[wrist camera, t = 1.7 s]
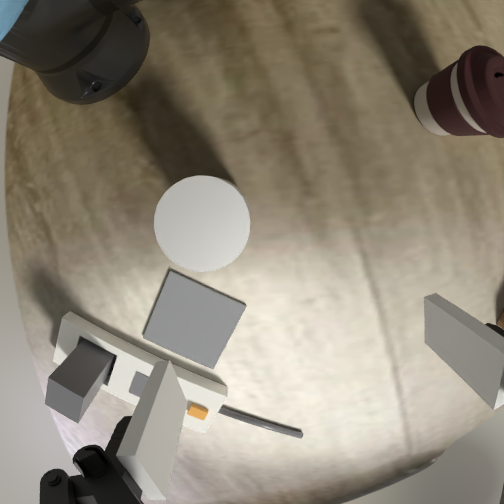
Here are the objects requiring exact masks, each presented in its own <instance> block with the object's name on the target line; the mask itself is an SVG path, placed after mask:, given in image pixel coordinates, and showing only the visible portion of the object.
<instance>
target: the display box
mask: <svg viewBox="0 0 504 504" xmlns="http://www.w3.org/2000/svg"><path fill="white" fill-rule="evenodd" d="M497 325H498V326H500V327H501V328H503V329H504V310H503V312H502V314H501V316H500V318H499V320H498V322H497Z"/></svg>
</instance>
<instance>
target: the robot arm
mask: <svg viewBox="0 0 504 504" xmlns="http://www.w3.org/2000/svg"><path fill="white" fill-rule="evenodd" d="M139 1H142V0H0V56H2V57H5V58H7V59H9V60H12V61H14V62H16V63H19V64H21V65H23V66H25V67H28V68H30V69H32V70H34V71H36V73H37V74H38V76H39V77H40V79H41V81H42V82H43V84H44V85H45V87H46V88H47V90H48V91H49V92H50V93H51V94H53V95H54V96H55V97H57V98H59V99H61V100H64V101H66V102H68V103H72V104H80V105H83V104H91V103H95V102H98V101H101V100H103V99H105V98H107V97H109V96H111V95H113V94H114V93H116V92H117V91H119V90H120V89H121V88H122V87H124V86H125V85H126V84H127V83H128V82H129V81H130V80H131V79H132V78H133V77H134V75H135V74H136V73H137V71H138V70H139V68H140V67H141V65H142V63H143V61H144V59H145V57H146V54H147V51H148V47H149V41H150V33H149V28H148V25H147V22H146V20H145V19H144V17H143V15H142V14H141V12H140V11H139V10H138V9H137V8H136V7H135V6H134V5H133V4H134V3H137V2H139ZM424 312H425V343H426V344H427V345H428V346H429V347H430V348H431V349H432V350H433V351H434V352H435V353H436V354H437V355H438V356H439V357H440V358H441V359H442V360H443V361H445V362H446V363H447V364H448V365H449V366H450V367H451V368H452V369H453V370H454V371H455V372H456V373H457V374H458V375H459V376H460V377H461V378H462V379H463V380H464V381H465V382H466V383H467V384H468V385H469V386H470V387H471V388H472V389H473V390H474V391H475V392H476V393H477V394H478V395H479V396H480V397H481V398H482V399H483V400H484V401H485V402H486V403H487V404H488V405H489V406H490V407H491V408H492V409H493V410H495V409H497V408H498V407H500V406H502V405H503V404H504V330H503V329H502V328H500V327H499V326H497V325H493V324H490V323H487V324H483V323H482V322H480V321H479V320H477V319H476V318H474V317H473V316H471V315H469V314H468V313H466V312H465V311H463V310H462V309H460V308H459V307H457V306H456V305H454V304H452V303H451V302H449V301H448V300H446V299H445V298H443V297H441V296H440V295H438V294H437V293H435V294H432V295H429V296H426V297H424ZM186 406H187V400H186V398H185V396H184V393H183V391H182V389H181V386H180V384H179V381H178V379H177V376H176V374H175V371H174V369H173V366H172V364H171V361H170V360H166V361H159V362H156V363H155V365H154V367H153V370H152V372H151V374H150V376H149V379H148V381H147V383H146V385H145V388H144V390H143V392H142V395H141V397H140V399H139V402H138V404H137V406H136V409H135V411H134V413H133V416H124V417H123V418H122V419H121V421H120V422H119V423H118V424H117V425H116V428H115V430H114V433H113V434H112V436H111V440H110V441H109V443H108V445H107V447H106V449H105V451H104V450H103V449H102V448H101V447H100V446H98V445H88V446H85V447H83V448H81V449H79V450H78V451H77V452H76V453H75V454H74V457H73V464H74V465H75V467H76V468H77V469H78V471H79V472H80V473H81V475H76V476H71V477H69V476H68V475H67V473H66V472H65V471H64V470H61V469H53V470H50V471H48V472H47V473H45V474H44V475H43V477H42V478H41V481H40V504H144V503H143V502H142V501H141V500H140V499H141V495H142V492H143V493H144V494H145V496H146V497H147V498H148V499H149V500H167V496H168V491H169V486H170V481H171V476H172V471H173V466H174V461H175V457H176V452H177V447H178V443H179V438H180V433H181V429H182V424H183V420H184V415H185V411H186ZM500 504H504V485H503V491H502V496H501V500H500Z"/></svg>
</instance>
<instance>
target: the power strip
mask: <svg viewBox="0 0 504 504" xmlns="http://www.w3.org/2000/svg"><path fill="white" fill-rule="evenodd" d="M84 338H86V339H87V340H89V341H91V342H93V343H95V344H96V345H98V346H100V347H102V348H104V349H106V350H108V351H109V352H111V353H113V354H115V355H117V359H116V362H115V365H114V368H113V371H112V374H111V376H110V375H108V377H107V378H106V380H105V381H104V383H103V385H102V386H101V388H100V389H102V390H104V391H106V392H108V393H110V394H112V395H114V396H116V397H118V398H120V399H122V400H124V401H126V402H128V403H130V404H133V405H135V406H137V404H138V402H139V399H140V397H141V395H142V392H143V390H144V388H145V385H146V383H147V381H148V379H149V376H150V374H151V372H152V370H153V367H154V365H155V363H156V362H159V361H166V360H163V359H161V358H159V357H157V356H155V355H153V354H151V353H149V352H146V351H144V350H142V349H140V348H138V347H136V346H134V345H132V344H130V343H128V342H126V341H124V340H122V339H120V338H118V337H116V336H115V335H113V334H111V333H109V332H107V331H105V330H103V329H101V328H100V327H98V326H96V325H94V324H92V323H90V322H89V321H87V320H85V319H83V318H82V317H80V316H78V315H76V314H75V313H73V312H71V311H69V312H68V313H67V314H66V315H64V316H63V317H62V320H61V324H60V329H59V334H58V338H57V343H56V349H55V354H54V359H53V362H55V363H56V364H58V365H60V364H61V363H62V362H63V361H64V360H65V359H66V358H67V357H68V356H69V354H70V353H71V352H72V351H73V350H74V349H75V348H76V347H77V346H78V345H79V344H80V343H81V342H82V341H83V339H84ZM171 364H172V363H171ZM172 366H173V369H174V371H175V374H176V376H177V379H178V381H179V384H180V386H181V389H182V391H183V393H184V396H185V398H186V400H187V406H186V411H185V415H184V420H183V424H182V426H184V427H187V428H189V429H192V430H195V431H197V432H200V433H203V434H205V432H206V431H207V429H208V427H209V426H210V424H211V423H212V421H213V419H214V418H215V416H216V414H217V413H221V414H223V415H226V416H229V417H232V418H235V419H238V420H241V421H243V422H247V423H250V424H253V425H256V426H259V427H262V428H265V429H269V430H272V431H275V432H279V433H282V434H286V435H290V436H293V437H297V438H302V437H303V433H302V432H299V431H295V430H291V429H288V428H284V427H281V426H278V425H274V424H271V423H268V422H265V421H261V420H258V419H255V418H252V417H249V416H246V415H243V414H240V413H238V412H235V411H232V410H229V409H226V408H224V407H221V406H222V405H223V403H224V401H225V400H226V398H227V391H228V387H227V386H225V385H222V384H220V383H217V382H215V381H212V380H210V379H207V378H205V377H202V376H200V375H198V374H195V373H193V372H190V371H188V370H186V369H184V368H181V367H179V366H177V365H174V364H172Z"/></svg>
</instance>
